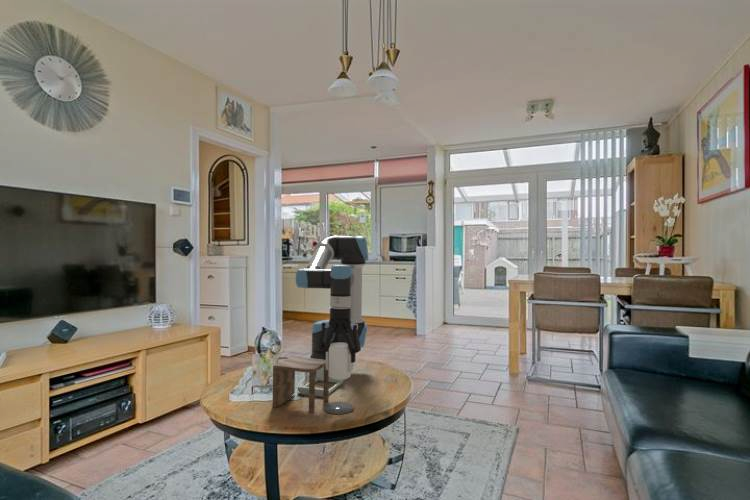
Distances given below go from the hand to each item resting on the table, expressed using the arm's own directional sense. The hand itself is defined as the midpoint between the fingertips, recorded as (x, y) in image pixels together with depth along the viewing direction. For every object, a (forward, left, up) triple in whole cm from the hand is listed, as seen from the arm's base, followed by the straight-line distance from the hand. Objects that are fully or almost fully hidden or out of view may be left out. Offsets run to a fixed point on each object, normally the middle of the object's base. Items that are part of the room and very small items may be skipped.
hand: (339, 370), depth 150 cm
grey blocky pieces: (-19, -15, -14) cm, 28 cm away
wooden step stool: (-1, -15, -14) cm, 21 cm away
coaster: (0, 0, -14) cm, 14 cm away
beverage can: (0, 0, -3) cm, 3 cm away
